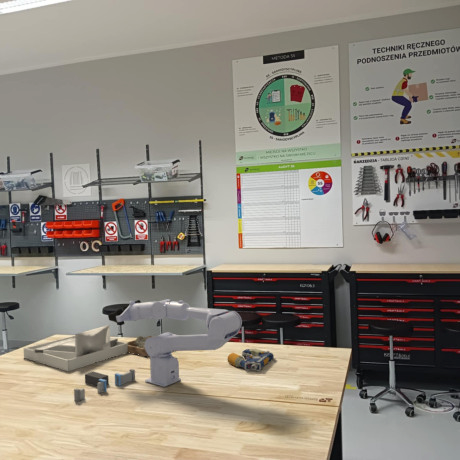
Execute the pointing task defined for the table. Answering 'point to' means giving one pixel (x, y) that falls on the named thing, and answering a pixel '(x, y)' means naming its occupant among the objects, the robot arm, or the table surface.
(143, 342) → the rock sample
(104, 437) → the table surface
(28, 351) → the container tray
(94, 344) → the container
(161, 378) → the robot arm
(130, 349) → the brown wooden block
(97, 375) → the charcoal brick
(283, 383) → the table surface
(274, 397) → the table surface
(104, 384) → the blue capped pillar
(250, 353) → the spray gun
